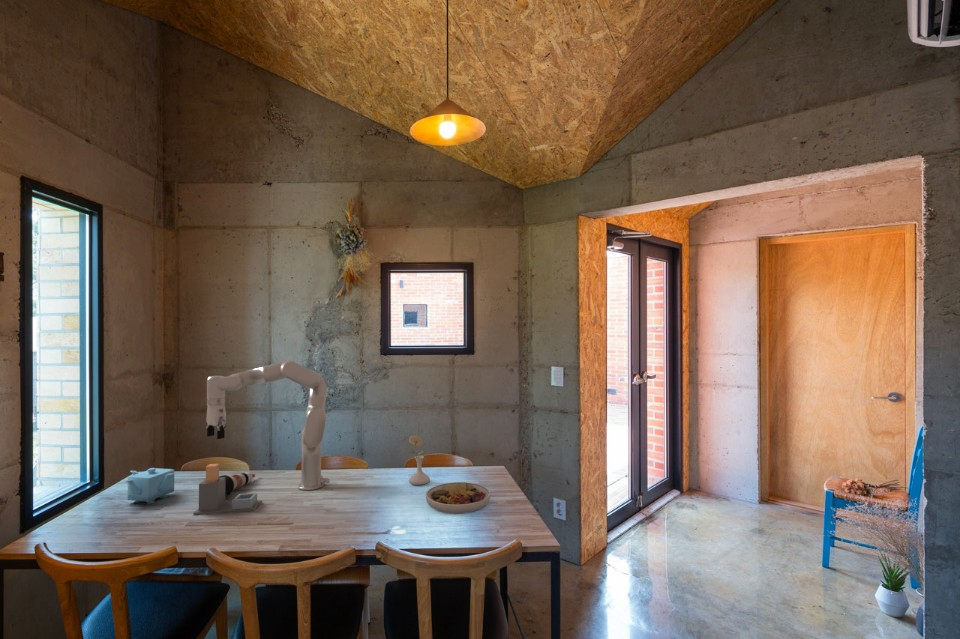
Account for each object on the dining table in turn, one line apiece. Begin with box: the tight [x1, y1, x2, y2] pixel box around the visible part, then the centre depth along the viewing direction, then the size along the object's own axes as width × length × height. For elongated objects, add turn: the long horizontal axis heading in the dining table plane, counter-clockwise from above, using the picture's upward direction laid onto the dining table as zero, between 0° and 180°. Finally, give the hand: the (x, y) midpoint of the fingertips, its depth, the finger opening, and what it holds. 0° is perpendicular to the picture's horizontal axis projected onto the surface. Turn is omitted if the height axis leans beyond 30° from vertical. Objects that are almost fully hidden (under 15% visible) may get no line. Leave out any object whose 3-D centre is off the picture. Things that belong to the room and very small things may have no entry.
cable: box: [219, 471, 256, 497], centre depth 232 cm, size 10×34×10 cm, turn 174°
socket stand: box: [192, 477, 263, 516], centre depth 208 cm, size 25×11×13 cm, turn 99°
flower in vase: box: [408, 434, 431, 486], centre depth 242 cm, size 13×11×25 cm
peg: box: [205, 463, 220, 483], centre depth 207 cm, size 4×4×10 cm
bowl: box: [425, 481, 491, 515], centre depth 213 cm, size 30×30×8 cm
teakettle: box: [124, 467, 175, 505], centre depth 220 cm, size 19×19×15 cm
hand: (215, 437), depth 220 cm, fingers open, 9 cm apart
